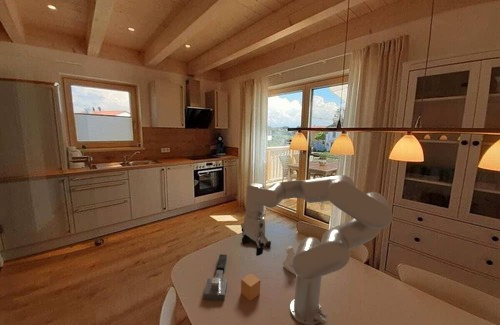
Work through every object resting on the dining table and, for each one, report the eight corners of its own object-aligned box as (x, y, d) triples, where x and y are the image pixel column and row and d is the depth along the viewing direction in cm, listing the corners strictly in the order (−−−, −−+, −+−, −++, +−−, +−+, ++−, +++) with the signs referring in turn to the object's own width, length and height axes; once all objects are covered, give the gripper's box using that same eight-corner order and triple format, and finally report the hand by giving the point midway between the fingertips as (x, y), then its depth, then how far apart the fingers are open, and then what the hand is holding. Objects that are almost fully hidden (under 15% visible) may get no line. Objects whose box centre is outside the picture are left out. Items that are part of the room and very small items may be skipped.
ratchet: (224, 300, 91) (224, 288, 90) (203, 299, 91) (203, 287, 90) (231, 258, 119) (231, 249, 118) (215, 258, 120) (215, 248, 118)
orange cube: (259, 293, 95) (260, 279, 94) (250, 301, 91) (250, 286, 90) (250, 286, 99) (250, 273, 98) (240, 293, 95) (241, 279, 94)
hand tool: (271, 246, 134) (271, 239, 133) (269, 249, 130) (270, 242, 129) (243, 240, 140) (243, 233, 139) (241, 243, 136) (241, 236, 135)
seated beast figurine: (297, 276, 107) (298, 254, 105) (280, 271, 110) (281, 250, 108) (300, 265, 116) (301, 245, 114) (284, 260, 119) (286, 241, 117)
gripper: (275, 218, 85) (272, 256, 89) (249, 204, 99) (247, 237, 102) (260, 222, 81) (258, 262, 84) (235, 207, 94) (234, 242, 98)
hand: (252, 248), depth 93 cm, fingers open, 9 cm apart
